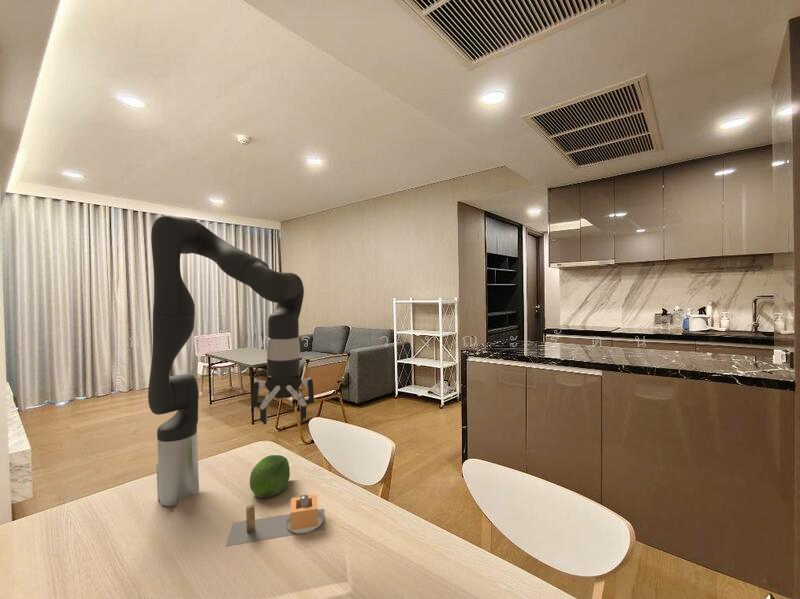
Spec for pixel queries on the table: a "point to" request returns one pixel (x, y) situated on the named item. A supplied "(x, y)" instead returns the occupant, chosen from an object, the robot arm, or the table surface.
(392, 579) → the table surface
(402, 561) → the table surface
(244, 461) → the table surface
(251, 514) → the stand rod
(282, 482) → the fruit
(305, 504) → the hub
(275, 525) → the board
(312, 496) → the collar
